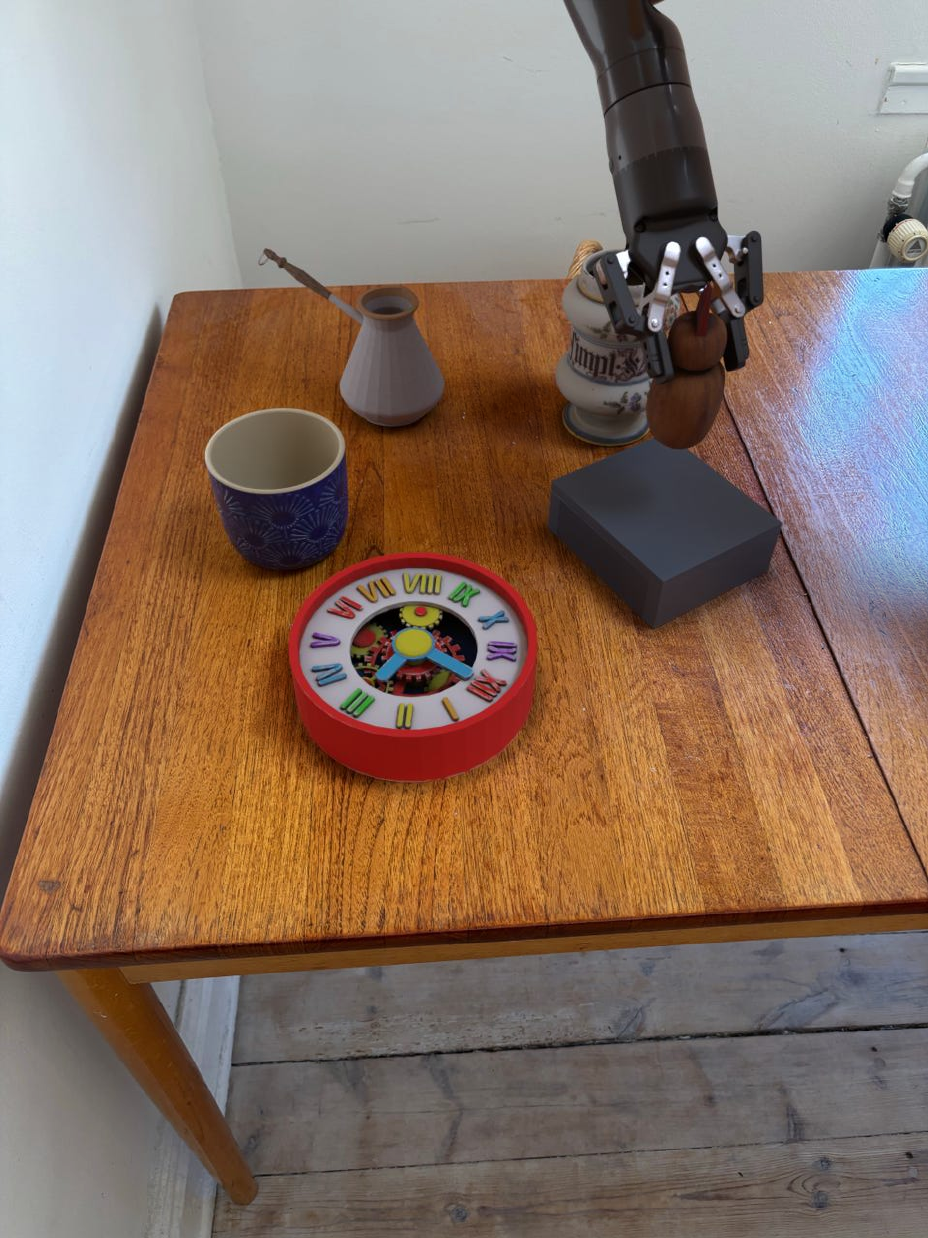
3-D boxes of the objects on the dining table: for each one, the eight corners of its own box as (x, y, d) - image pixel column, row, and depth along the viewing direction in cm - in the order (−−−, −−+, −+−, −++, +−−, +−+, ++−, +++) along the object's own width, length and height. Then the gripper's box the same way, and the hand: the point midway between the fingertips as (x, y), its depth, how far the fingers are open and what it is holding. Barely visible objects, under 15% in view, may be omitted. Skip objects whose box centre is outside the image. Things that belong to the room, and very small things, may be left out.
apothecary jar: (599, 376, 117) (617, 225, 104) (683, 420, 111) (714, 266, 98) (529, 419, 111) (538, 265, 98) (613, 468, 105) (636, 311, 92)
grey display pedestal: (657, 479, 104) (666, 431, 100) (768, 570, 95) (783, 522, 90) (547, 528, 99) (551, 480, 94) (653, 629, 90) (663, 581, 85)
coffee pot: (463, 394, 114) (463, 270, 103) (412, 449, 107) (407, 322, 96) (306, 345, 121) (291, 224, 110) (248, 394, 114) (226, 269, 103)
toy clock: (391, 521, 90) (584, 615, 83) (394, 568, 95) (577, 661, 87) (234, 659, 79) (441, 782, 71) (246, 705, 84) (442, 826, 76)
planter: (312, 600, 92) (298, 508, 84) (199, 560, 95) (175, 468, 87) (377, 518, 100) (370, 427, 92) (270, 484, 103) (254, 394, 95)
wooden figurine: (695, 467, 84) (732, 304, 73) (631, 446, 86) (658, 284, 75) (722, 425, 88) (761, 264, 77) (660, 405, 90) (690, 246, 79)
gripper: (591, 154, 74) (637, 380, 75) (764, 131, 77) (806, 349, 78) (559, 194, 82) (601, 400, 83) (719, 172, 85) (757, 371, 86)
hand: (701, 374), depth 80 cm, fingers closed on wooden figurine, 5 cm apart
